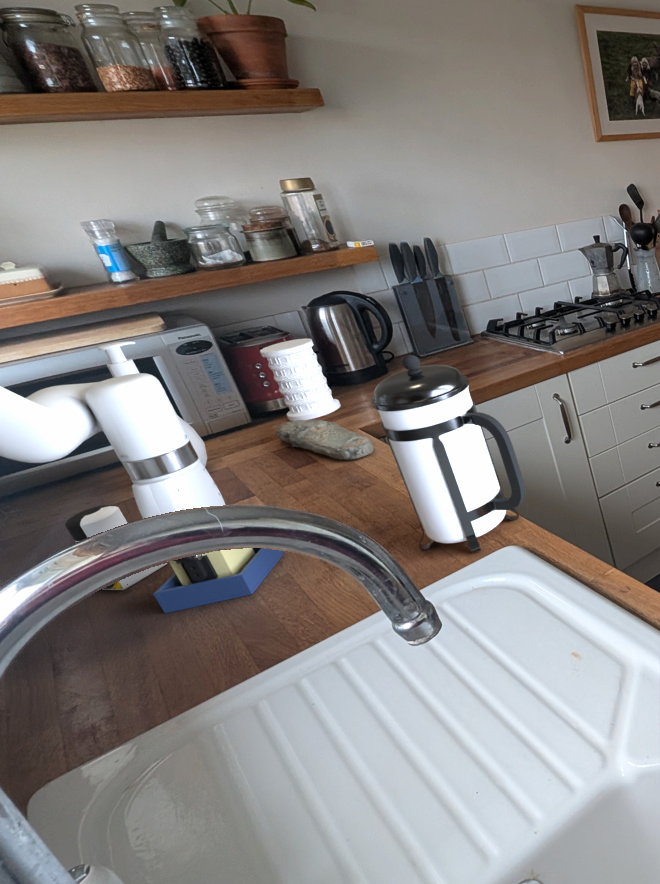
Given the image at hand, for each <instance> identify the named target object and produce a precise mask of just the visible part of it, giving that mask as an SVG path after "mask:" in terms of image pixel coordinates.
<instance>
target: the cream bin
mask: <svg viewBox="0 0 660 884" xmlns="http://www.w3.org/2000/svg"><path fill="white" fill-rule="evenodd" d="M202 555H203V556H205V555H207V556H208V558H209V560H210V562H211V564H212V565H213V567H214V569H215V571H216V573H217V575H218V578H222V577H226V576H231V575H236V574H239V573H240V572H241V571H242V570H243V569H244V568H245V566H246V565H247V564H248V563H249V562H250V561H251V559H252V558H253V557H254V556H255V555H256V554H255V552H254V550H253V548H243V549H231V550H220V551H213V552H209V553H205V554H202ZM168 563H169V565H170V566H171V567H172V568H171V569H172V570H173V572H174V573H176V575H177V577H178V579H179V580H180V582H181V584H182V586H184V585H189V584H192V583H191V582H190V580H189V578H188V576H187V574H186V573H185V571H184V569H183V567H182V566H181V564H177V563H176V562H175V561H170V562H169V561H168Z"/></svg>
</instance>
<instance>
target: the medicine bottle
mask: <svg viewBox="0 0 660 884" xmlns="http://www.w3.org/2000/svg"><path fill="white" fill-rule="evenodd" d="M127 523H128V521H127V519H126V518H125V516H124V514H123V513H122V511H121V509H120V507H119V506H117V505H114V504H103V505H97V506H93V507H91V508H90V507H89V508H87V509H84V510H82V511H79V512H78V513H75V514H74V515H72V516H71V517H70V518H69V519H68V520H66V522H65V524H64V526H65V528H66V529H67V531H68V533H69V534H70V535H71V537H72V538H73V540H74V542H75V543H76V542H79V541H81V540H83V539H86V538H88V537H91V536H93V535H96V534H98V533H101V532H105V531H107V530H110V529H113V528H115V527H118V526H121V525H124V524H127ZM166 565H168V563H165V564H161V565H159V566H155V567H151V568H149V569H146V570H144V571H141V572H139V573H136V574H133V575H131V576H129V577H126V578H125V579H122V580H120V581H118V582H116V583H114V584H112V585H110V586H107V587H106V588H104V589H102V590H103V591H125V590H126V589H128V588H130V587H133V585H135V584H137V583H139V582H140V581H142V580H143V579H145V578H147V577H149V576H150V575H152V574H153V573H155V572H156V571H159V570H160V569H161V568H163V567H165V566H166ZM127 584H128V585H127ZM120 587H122V588H120ZM102 590H101V591H102Z"/></svg>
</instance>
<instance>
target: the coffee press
mask: <svg viewBox="0 0 660 884" xmlns="http://www.w3.org/2000/svg"><path fill="white" fill-rule="evenodd" d="M420 365H421V359H419V358H418V356H416V355H413V354H408V355H405V356H404V357H403V359H402V364H401V366H403V367H404V370H402V371H399V372H396V373H393V374H391V375H389V376H387V377H386V378H384V379H382V380H381V381H380V382H379V383H377V385H376V387H375V388H374V391H373V398H372V399H371V401H370V403H371V405H372V408H374V410H375V411H377V412H378V414H379V416H380V419H381V422H382V423H381V427H382V430H383V432H384V435H385V437H386V440H387V442H388V445H389V448H390V451H391V453H392V456H393V458H394V460H395V463H396V467H397V468H398V471H399V474H400V477H401V479H402V482H403V484H404V487H405V489H406V492H407V494H408V496H409V500H410V502H411V504H412V508H413V510H414V513H415V515H416V517H417V520H418V523H419V526H420V528H421V531H422V533H421V535H420V538H419V540H418V547H419V549H420V550H422V551H427V550H429V549H430V548H431V547H432V545H433V544H434V543H435V542H436V543H440V544H457V543H462V542H467V544H468V548H469V551H470V553H471V555H473V554H476V553H479V552H481V551H482V549H481V546H480V543H479V541H478V538H479V537H481V536H483V535H485V534H487V533H489V532H490V531H492V530H493V529H495V528H496V527H497V526H498V525H499V524H500V523H501V522H502V521H503V520H504V519H507V520H510V521H516V520H518V519H519V517H520V514H519V512H518V509H516V508H517V507H519V506H520V505H521V504H522V503H523V502H524V500H525V497H526V487H525V481H524V478H523V475H522V471H521V468H520V464H519V461H518V459H517V455H516V451H515V449H514V446H513V443H512V440H511V437H510V436H509V434H508V432H507V430H506V429H505V427H504V426H503V424H501V422H500V421H499V420H498V419H496V418H495V417H494V416H492V415H489V414H487V413H485V412H480V411H479V412H478V410H477V407H476V404H475V401H474V399H472V397H471V394H470V391H469V390H470V389H469V386H470V381H469V379H468V377H467V376H466V375H463V373H462V372H461V371H460V370H459V369H458V368H456V367H453V366H451V365H447V364H428V365H421V366H420ZM483 428H484V429H486V430H487V431H488V432H489V433H490V434H491V436H492V437H493V438H494V440H495V442H496V445H497V448H498V450H499V454H500V457H501V460H502V463H503V467H504V470H505V473H506V476H507V480H508V482H509V486H510V490H511V495H510V497H506V496H505V493H504V490H503V488H502V484H501V480H500V478H499V475H498V472H497V470H496V466H495V462H494V459H493V457H492V453H491V450H490V448H489V445H488V441H487V438H486V435H485V431H484V429H483ZM510 510H511V511H512V512H514V513H515V515H517V516H515V515H513V516H511V515H509V514H507V511H510ZM425 534H426V536H427V537H428V538H429V539H430V541H429V542H428V543H427V544H425V545H423V544H422V542H423V540H424V538H425Z"/></svg>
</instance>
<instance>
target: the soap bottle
mask: <svg viewBox="0 0 660 884" xmlns="http://www.w3.org/2000/svg"><path fill="white" fill-rule="evenodd" d="M127 345H136V341H131V340H127V341H126V340H125V341H116V342H111V343H106V344H102V345H100V346H98V347H97V349H98V351H104V353H105V354H106V356H107V358H108V361H110V362H109V363H107V364H106V367H107V369H108V370H109V372H110V374H111V376H112V378H115V377H119V376H123V375H129V374H136V373H140V371H139V369H138V367H137V366H136V364H135V362H134V360H133V359H132V358H127V357H126V356H125V354H124V352H123V350H122V348H121V347H123V346H127ZM164 391H165V392H166V390H165V389H164ZM177 416H178V418H179V420H180V422H181V424H182V426H183V428H184V430H185V432H186V434H187V436H188V438H189V440H190V442H191V444H192V445H193V447H194V449H195V451H196V453H197V455H198V457H199V459H200V462H201V463H202V464H203V466H204V467H205V468H206V466H207V463H208V462H207V461H208V454H207V450H206V444H205V441H204V440H203V439H202V438H201V436H200V435H199V434H198V433H197V432H196V430H195V429H194V427H192V426H191V425H190V424H189V423H187V422H186V421H185V420H184V419H183V418H181V417H180V416H179V415H178V414H177Z"/></svg>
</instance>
